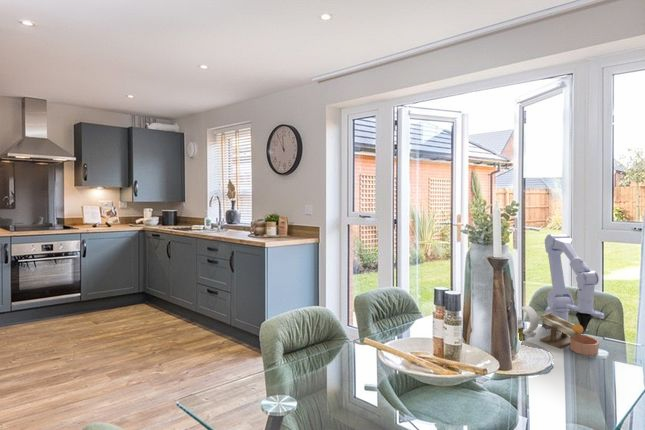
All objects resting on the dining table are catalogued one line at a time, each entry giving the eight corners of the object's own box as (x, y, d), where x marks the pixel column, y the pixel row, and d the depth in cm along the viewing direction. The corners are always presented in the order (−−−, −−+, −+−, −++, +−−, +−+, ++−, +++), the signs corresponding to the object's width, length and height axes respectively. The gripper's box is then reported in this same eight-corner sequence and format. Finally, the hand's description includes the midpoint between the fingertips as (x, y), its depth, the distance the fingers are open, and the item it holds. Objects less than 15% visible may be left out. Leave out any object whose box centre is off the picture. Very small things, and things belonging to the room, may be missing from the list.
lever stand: (540, 341, 193) (541, 324, 192) (556, 334, 200) (557, 318, 199) (560, 348, 185) (562, 331, 184) (576, 341, 193) (577, 324, 192)
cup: (565, 348, 185) (565, 338, 185) (577, 342, 191) (578, 332, 190) (590, 357, 177) (591, 346, 177) (602, 351, 183) (603, 340, 182)
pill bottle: (520, 347, 187) (521, 322, 186) (505, 343, 191) (506, 318, 189) (523, 342, 192) (525, 317, 191) (509, 338, 196) (510, 314, 194)
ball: (572, 335, 185) (569, 325, 186) (577, 332, 188) (574, 323, 188) (581, 334, 182) (578, 324, 183) (586, 332, 184) (583, 322, 185)
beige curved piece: (538, 326, 196) (541, 315, 195) (553, 320, 203) (555, 309, 201) (573, 343, 184) (576, 332, 182) (587, 337, 191) (590, 325, 189)
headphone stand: (526, 330, 205) (528, 305, 203) (537, 335, 199) (539, 309, 198) (519, 332, 203) (521, 307, 201) (530, 337, 197) (532, 311, 196)
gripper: (563, 296, 191) (561, 326, 193) (599, 305, 179) (597, 337, 181) (571, 293, 195) (569, 323, 197) (607, 302, 183) (605, 333, 185)
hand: (583, 329), depth 189 cm, fingers closed, pressing on beige curved piece
